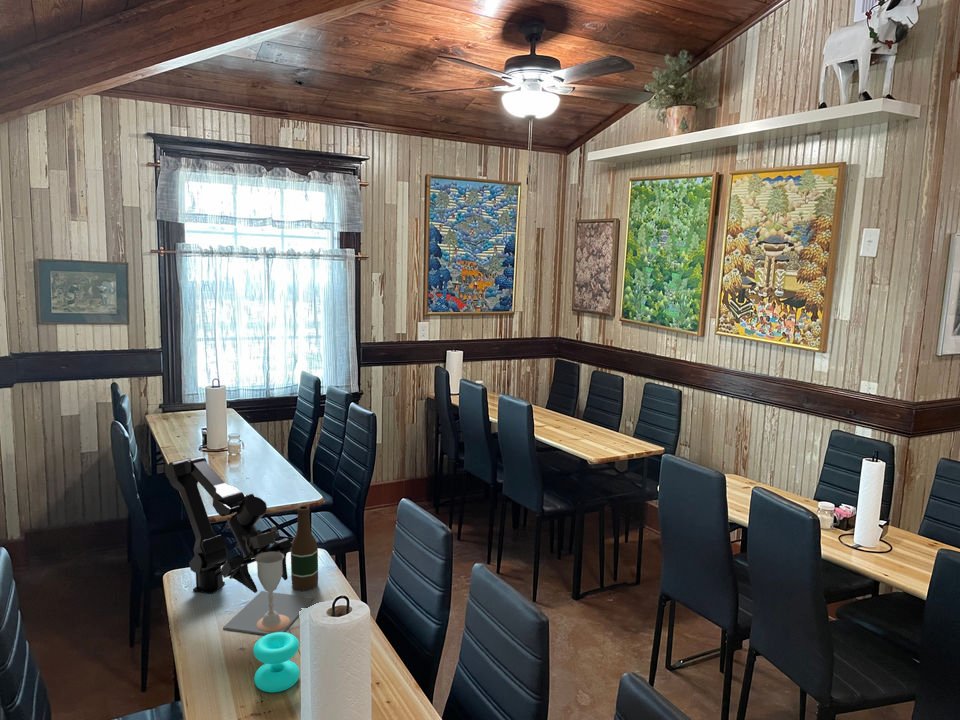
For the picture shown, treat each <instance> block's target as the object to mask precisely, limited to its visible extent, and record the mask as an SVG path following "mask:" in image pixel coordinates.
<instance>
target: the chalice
mask: <svg viewBox="0 0 960 720" xmlns="http://www.w3.org/2000/svg"><path fill="white" fill-rule="evenodd" d="M283 558H284V555H283V554H282V553H280V552H264V553H261V554H259V555H257V556H256V557H255V560H256V561H255V562H256V564H257V566H256V567H257V568H256V569H257V578H258V580H259V582H260V584H261V587H262V588H263V589H264V591H266V592H269V596H268V599H269V603H268V604H267V605H268V606H269V611H268V612H266V614H265V615H264V617H263V620H262V622H261V623H262V625H264V626H268V627H269V626H275V625H278V624H279V623H280V622H281V618H280V616H279V614H278V613H277V612H276V611H274V610H273V605H274V603H273V598H274V596H273V592H274V591H276V590H277V588H278V586H279V585H280V582H281V580H282V560H283Z"/></svg>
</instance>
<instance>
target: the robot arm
mask: <svg viewBox="0 0 960 720" xmlns="http://www.w3.org/2000/svg"><path fill="white" fill-rule="evenodd" d="M164 472H165V476H166V478H167V479H168V481H169V483H170V485H171V486H172V487H173V488H174V489H175V490H177V491H178V492H179V493H180V496H181V499H182V501H183V504H184V509H185V511H186V513H187V516H188V519H189V522H190V526H191V528H192V532H193V534H194V537H195V541H194V547H193V553H194V554H193V555H194V556H193V558H192V559H190V561H189V562H188V564H189V569H190V571H192V572H193V573H194V574H195V587H194V588H193V589H192V591H193V592H197V593H205V594H206V593H207V594H215V593H216V592H217V591H218V590H219V589H220V588H222V587H223V586H224V585H225V584H226V582H225V581H224V579H225V578H229V580H232V579H234V580H236V581H237V582H238V583H240V584H242V585H243V586H245V587H246V588H247V589H249V590H250V591H251V592H252V593H254V594H256V593H257V592H258V588H257V586H256V583H255V581H254V580H253V578H252V576H251V574H250V572H249V566H248V565H250V564H252V563H255V562H257V561H256V560H255V557H256V556H257V555H259V554H261V553H264V552H280V553H282V554H283V555H284V558H283V560H282V577H281V579H283V580H284V581H287V580H288V577H289V576H288V572H287V571H288V569H287V554H288V553H289V552H290V551H291V547H292V546H293V545H292V541H291V540H290V539H289V538H287V537H284V538H283V539H280V540H277V541H276V539H279V538H280V532H279V530H278V528H277V526H276V525H275V526H271V527H267V528H266V532H264V533H263V532H262V530H260V529H258V530H257V528H256V526H255V525H256V524H257V523H258V522H259V521H260V520H261V518H262V517H263V516H264V515H265V514H266V513H267V511H268V510H267V509H268V508H267V506H268V505H267V503H266V501H264V500H263V499H262V498H260V497H258V496H255V495H254V493H249V494H244V493H243V491H241V490H240V489H239V488H237V487H236V486H232V485H230V484H227V483H226V482H225V481H224V480H223V479H222V477H220V476H219V474H218V473H217V472H216V471H215V469H213V468H212V467H211V466H210V465H209V464H208V462H207V459H206V458H205V457H204V456H197V457H194V458H192V457H187V458H183V459H180V460H175V461H171V462H169V463H168V465H167V466H166V467H165V470H164ZM198 483H199V484H200V485H201V486H202V488H203V489H204V490H205V491H206V492H207V493H208V494H209V496H210V497H211V498H212V507H213V508H214V509H215V512H216V513H217V514H218V516H220V517H221V518H222V517H227V516H230V515H232V514H233V515H232V516H231V517H228V518H227V519H226V524H225V529H227V530H228V529H230V531H231V533H232V535H233V536H234V539H235V541H236V544H235V548H237V549H240V551H241V553H242V555H243V556H242V555H241V554H238V555H236V556H233V557H230V558H228V557H229V556H228V555H229V550H228V547H227V545H226V543H225V540H224V537H223V536H222V535H221V534H219V535H218V534H217V533H215V531H214V530H213V527H212V525H211V521H210V519H209V516H208V514H207V513H208V512H207V511H206V506H205V504H204V501H203V499H202V495H201V493H200V490H199V487H198V486H199V485H198ZM270 544H272V545H270Z"/></svg>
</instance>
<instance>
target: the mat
mask: <svg viewBox="0 0 960 720" xmlns="http://www.w3.org/2000/svg"><path fill="white" fill-rule="evenodd" d="M268 596H269V592H268V591H265V590H261V591H260V592H259V593H258V594H257V595H256V596H255V597H253V598H252V599H251V600H250V601H249V602H248V604H246V605H245V606H244V607H243V608H242V609H241V610H240V611H238V612H237V614H236V615H235V616H233V617H232V618H231V619H230V620H229V621H228V622H227V623H226V624H225V625H224V626H223V628H222V630H226V629H227V630H226V631H233V630H234V631H236V632H242V633H249V634H255V635H263V636H265V635H267V634H271V633H275V632H286V631H288V629H289V628H290V627H291V626H292V625H293V624H294V622H295V621H296V620H297V619H298V618H299V617H300V615H299V611H301V610H302V609H301V608H306V607H307V608H308V606H309V605H311V603H312V602H313V601H314V600H315V598H314V597H311V596H305V595H303V596H302V595H296V594H295V595H294V594H288V593H280V592H274V591H273V596H274V598H273V603H274V605H273V610H274V611H276V612H277V613H278V614H279V616H280V618H281V622H280V623H279V624H278V625H275V626H269V627H268V626H264V625H262V623H261V622H262V620H263V617H264V615H265V614H266V612H268V611H269V606H268V605H267V604H268V603H269V599H268ZM310 602H311V603H310ZM307 608H306V609H307ZM297 617H298V618H297Z"/></svg>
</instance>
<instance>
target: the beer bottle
mask: <svg viewBox="0 0 960 720" xmlns="http://www.w3.org/2000/svg"><path fill="white" fill-rule="evenodd" d="M296 512H297V523H296V524H297V525H296V526H297V527H296V528H297V529H296V534H295V535H294V536H293V539H292V541H291V543H292V545H293V546H292V547H291V548H290V570H291V572H290V573H291V576H290V577H291V585H292V587H293V590H295V591H298V592H299V591H300V592H306V591H310V590H311V589H312V590H313V589H315V588H316V587H317V586H318V585H319V556H318V554H319V551H318V543H317V541H316V538H315V536H314V535H313V533H312V530H311V518H310V512H311V509H310V506H308V505H307V506H306V505H301V506H299V507H297V509H296ZM314 587H315V588H314ZM312 590H311V591H312Z"/></svg>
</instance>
